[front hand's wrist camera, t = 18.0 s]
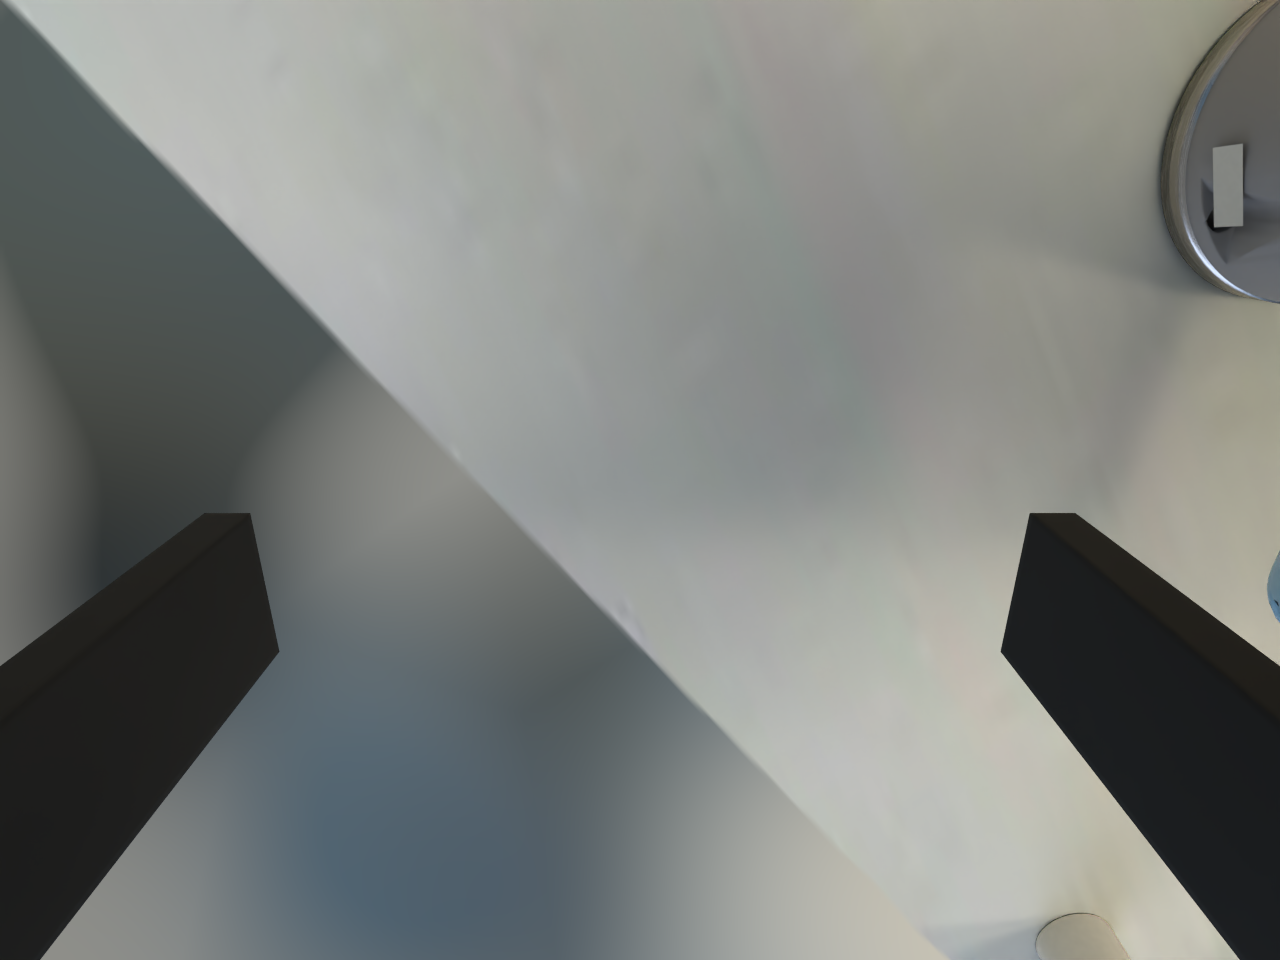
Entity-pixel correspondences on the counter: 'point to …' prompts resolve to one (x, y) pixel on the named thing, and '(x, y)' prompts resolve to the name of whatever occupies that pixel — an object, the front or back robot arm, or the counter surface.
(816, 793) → the counter surface
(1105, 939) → the canister
